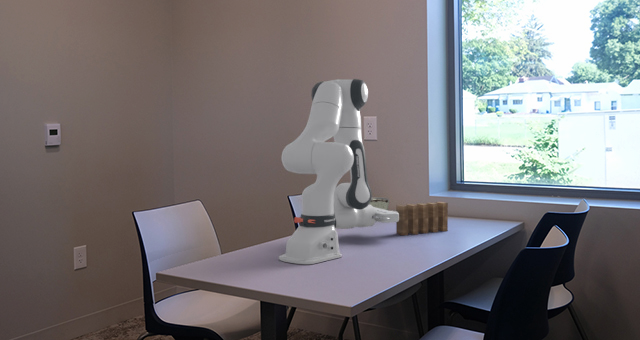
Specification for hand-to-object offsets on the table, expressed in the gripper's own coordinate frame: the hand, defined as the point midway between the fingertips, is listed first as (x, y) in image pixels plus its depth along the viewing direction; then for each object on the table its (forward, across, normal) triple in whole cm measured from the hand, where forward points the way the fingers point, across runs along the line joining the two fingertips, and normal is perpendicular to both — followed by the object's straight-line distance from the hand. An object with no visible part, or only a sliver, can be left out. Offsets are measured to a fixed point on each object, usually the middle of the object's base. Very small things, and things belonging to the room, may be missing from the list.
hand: (396, 213), depth 218 cm
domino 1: (+3, 0, +9) cm, 10 cm away
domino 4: (+18, 0, +9) cm, 20 cm away
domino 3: (+13, 0, +9) cm, 16 cm away
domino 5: (+23, 0, +9) cm, 24 cm away
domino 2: (+8, 0, +9) cm, 12 cm away
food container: (+16, +42, +9) cm, 46 cm away
